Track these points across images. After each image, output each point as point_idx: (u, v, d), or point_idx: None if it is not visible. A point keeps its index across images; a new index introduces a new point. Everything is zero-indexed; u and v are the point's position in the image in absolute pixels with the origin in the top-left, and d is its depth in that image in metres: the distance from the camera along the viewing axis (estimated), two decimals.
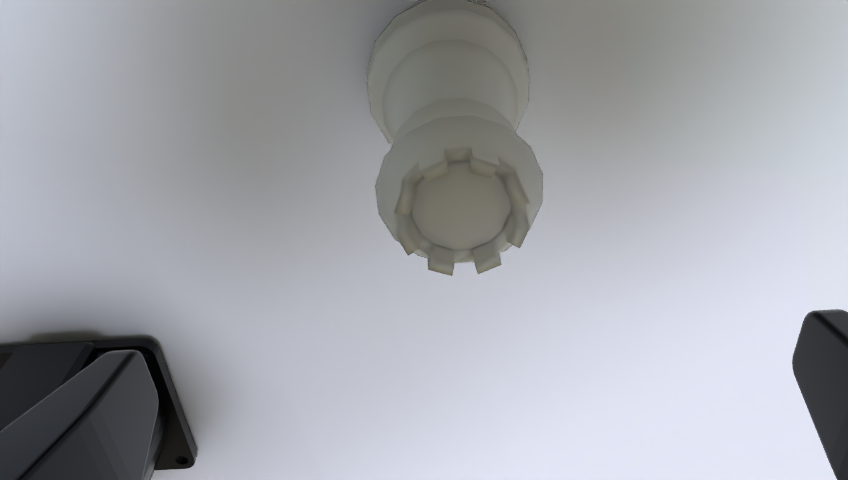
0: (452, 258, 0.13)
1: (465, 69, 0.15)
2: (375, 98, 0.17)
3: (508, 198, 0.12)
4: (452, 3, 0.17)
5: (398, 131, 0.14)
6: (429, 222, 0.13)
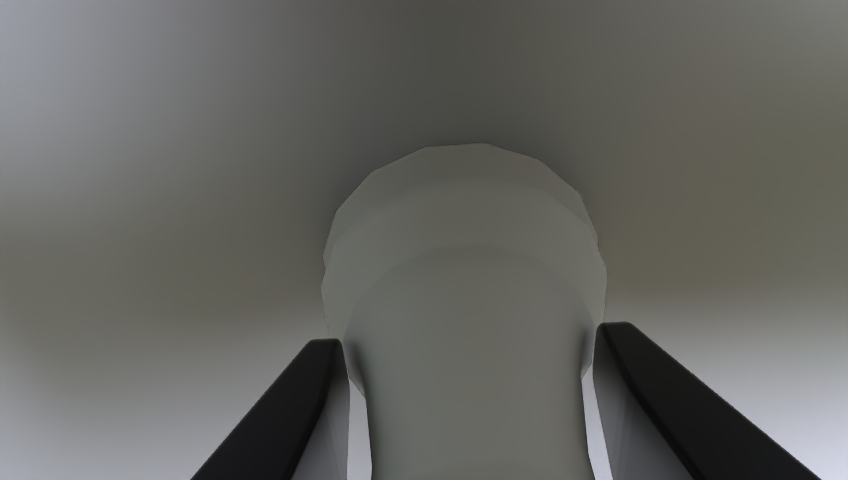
0: None
1: (502, 323, 0.08)
2: (333, 324, 0.10)
3: None
4: (471, 153, 0.10)
5: None
6: None
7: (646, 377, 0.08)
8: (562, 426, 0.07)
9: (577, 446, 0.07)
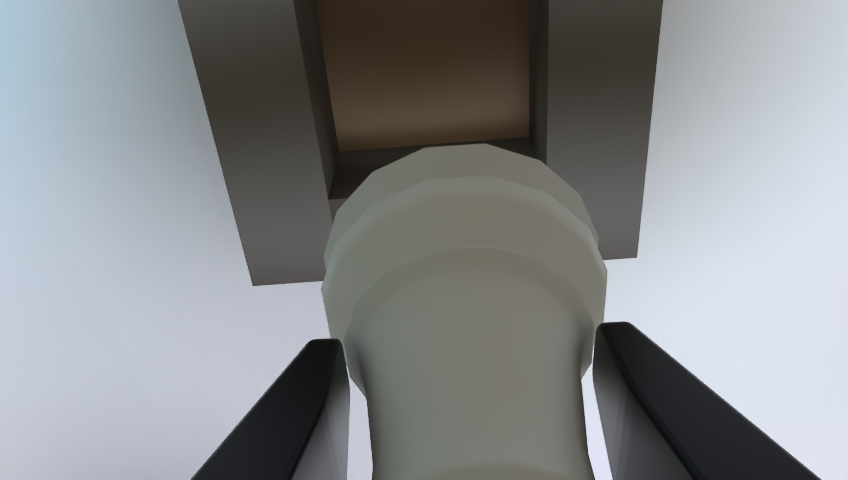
0: None
1: (503, 323, 0.08)
2: (334, 323, 0.10)
3: None
4: (472, 154, 0.10)
5: None
6: None
7: (646, 377, 0.08)
8: (562, 426, 0.07)
9: (577, 446, 0.07)
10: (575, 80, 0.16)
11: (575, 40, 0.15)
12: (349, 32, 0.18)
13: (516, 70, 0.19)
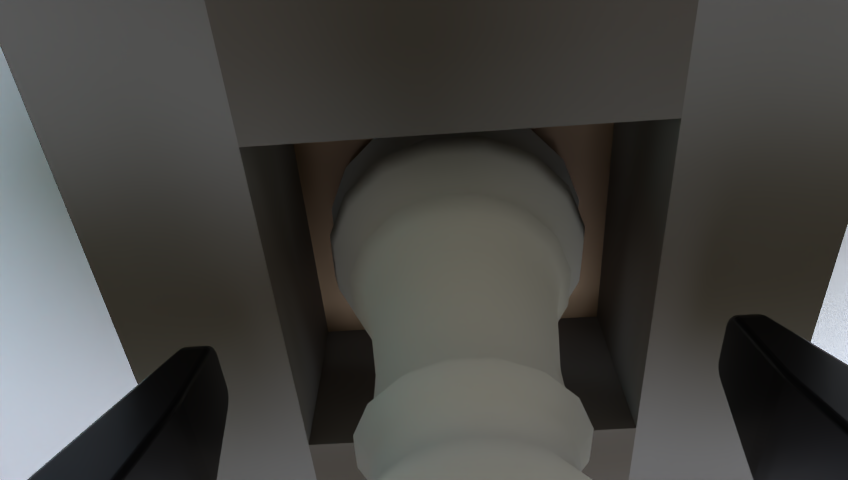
0: None
1: (491, 258, 0.09)
2: (341, 265, 0.11)
3: None
4: None
5: (369, 406, 0.08)
6: None
7: (802, 369, 0.07)
8: (539, 341, 0.08)
9: (551, 358, 0.08)
10: (698, 303, 0.10)
11: (704, 251, 0.10)
12: None
13: (585, 235, 0.13)
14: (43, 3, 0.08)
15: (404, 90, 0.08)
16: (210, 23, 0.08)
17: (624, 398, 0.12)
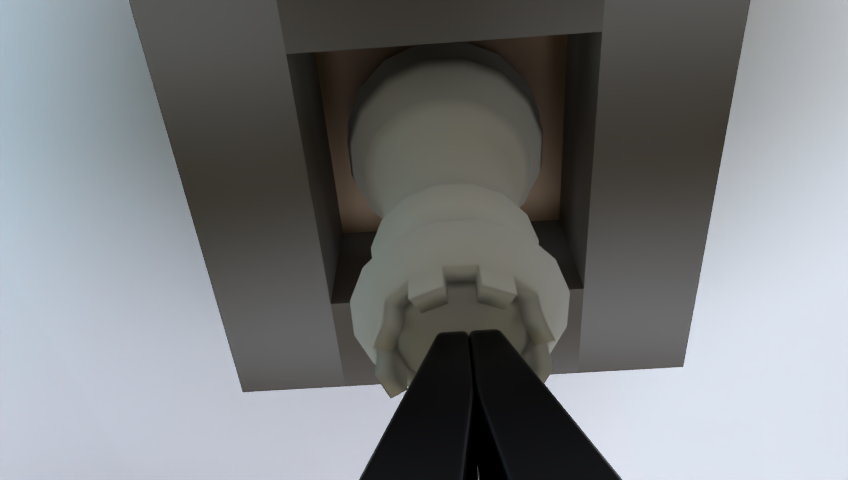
0: None
1: (468, 136, 0.12)
2: (357, 160, 0.14)
3: (525, 328, 0.09)
4: (453, 47, 0.14)
5: (382, 222, 0.11)
6: (419, 355, 0.10)
7: (496, 385, 0.08)
8: (501, 187, 0.12)
9: (510, 198, 0.12)
10: (624, 180, 0.13)
11: (626, 137, 0.13)
12: None
13: (547, 149, 0.16)
14: None
15: (404, 10, 0.12)
16: None
17: (576, 271, 0.15)
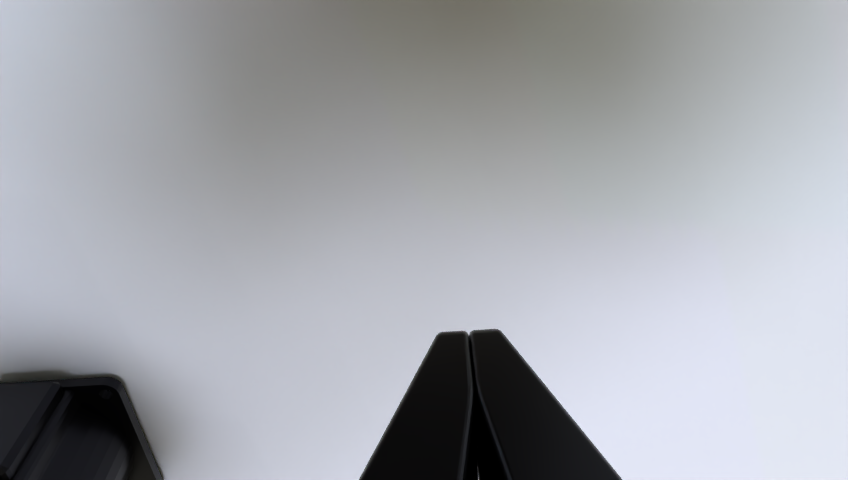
0: None
1: None
2: None
3: None
4: None
5: None
6: None
7: (495, 385, 0.08)
8: None
9: None
10: None
11: None
12: None
13: None
14: None
15: None
16: None
17: None
